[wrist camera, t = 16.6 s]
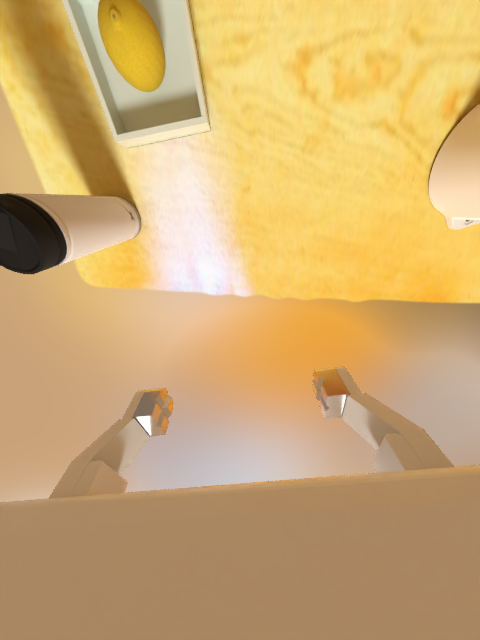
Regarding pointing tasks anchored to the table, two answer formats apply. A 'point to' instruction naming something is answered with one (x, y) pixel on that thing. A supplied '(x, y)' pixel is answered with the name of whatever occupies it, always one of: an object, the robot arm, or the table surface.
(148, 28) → the lemon
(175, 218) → the table surface
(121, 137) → the bin
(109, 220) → the travel mug
